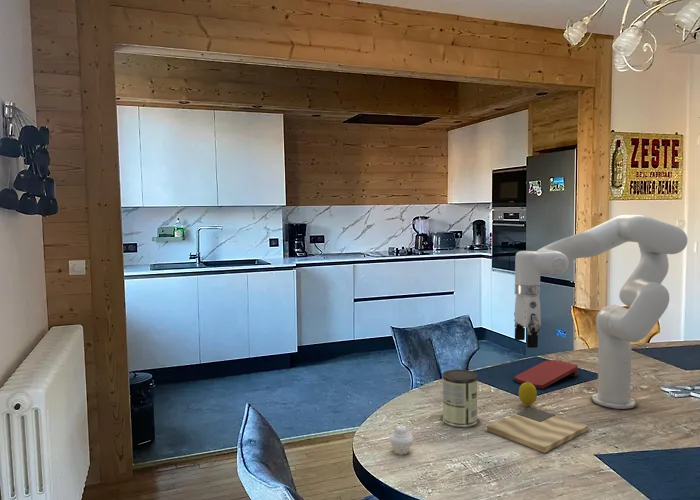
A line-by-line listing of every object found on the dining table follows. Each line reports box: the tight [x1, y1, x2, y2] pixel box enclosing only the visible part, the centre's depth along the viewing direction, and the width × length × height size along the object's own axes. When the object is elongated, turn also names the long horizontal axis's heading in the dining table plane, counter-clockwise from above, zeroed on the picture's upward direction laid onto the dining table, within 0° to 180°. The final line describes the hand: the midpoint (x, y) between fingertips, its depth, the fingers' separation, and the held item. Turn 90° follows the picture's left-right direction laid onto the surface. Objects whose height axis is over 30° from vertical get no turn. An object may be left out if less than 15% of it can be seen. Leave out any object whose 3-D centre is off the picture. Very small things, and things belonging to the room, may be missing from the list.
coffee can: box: [441, 369, 479, 428], centre depth 159 cm, size 10×10×14 cm
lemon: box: [518, 381, 538, 407], centre depth 171 cm, size 6×6×8 cm
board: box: [486, 406, 589, 454], centre depth 151 cm, size 22×18×2 cm
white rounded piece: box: [389, 425, 414, 455], centre depth 139 cm, size 6×6×7 cm
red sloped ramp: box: [514, 359, 579, 389], centre depth 198 cm, size 12×5×25 cm
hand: (525, 343), depth 169 cm, fingers open, 9 cm apart
